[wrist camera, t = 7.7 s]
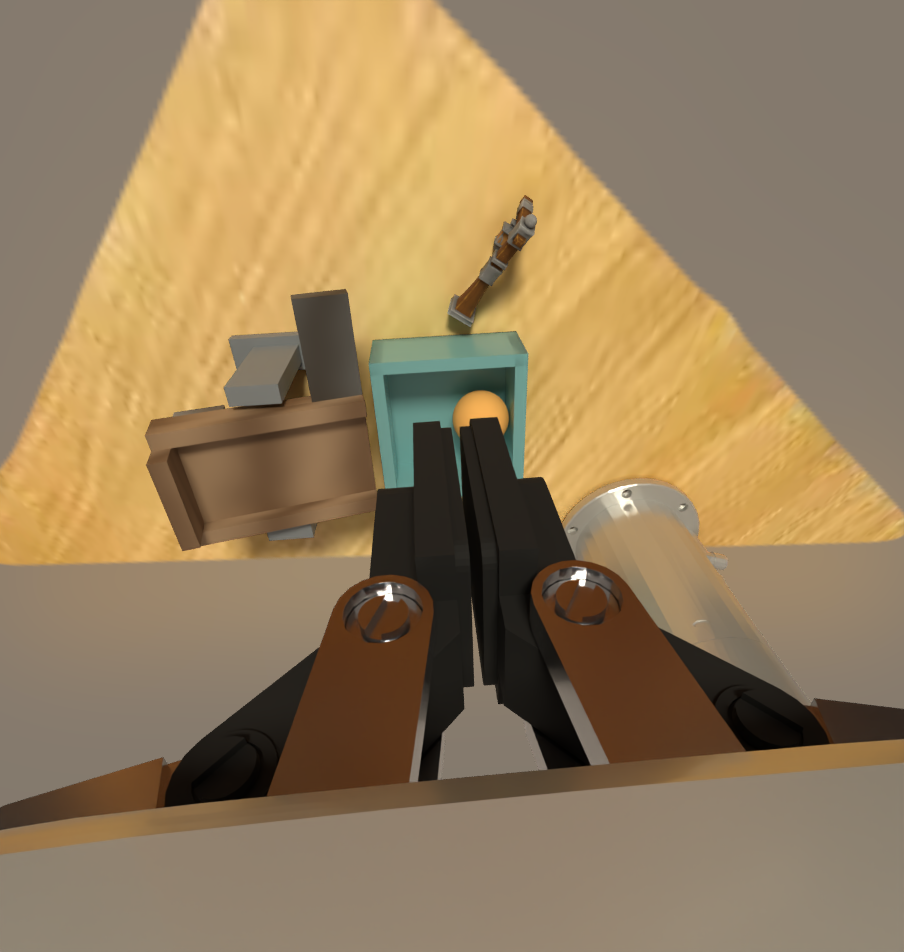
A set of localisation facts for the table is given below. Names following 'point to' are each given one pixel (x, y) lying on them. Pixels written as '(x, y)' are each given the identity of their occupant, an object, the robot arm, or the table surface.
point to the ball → (480, 409)
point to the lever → (273, 446)
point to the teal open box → (443, 391)
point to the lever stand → (266, 385)
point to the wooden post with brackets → (496, 261)
